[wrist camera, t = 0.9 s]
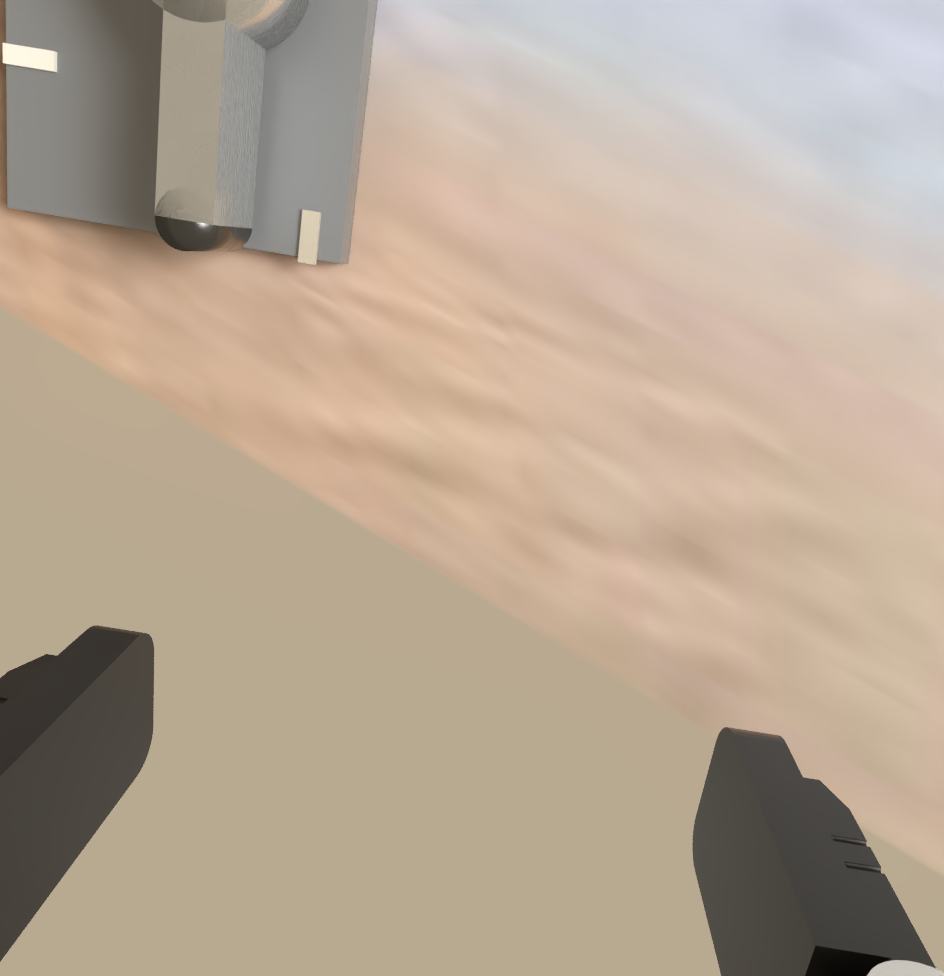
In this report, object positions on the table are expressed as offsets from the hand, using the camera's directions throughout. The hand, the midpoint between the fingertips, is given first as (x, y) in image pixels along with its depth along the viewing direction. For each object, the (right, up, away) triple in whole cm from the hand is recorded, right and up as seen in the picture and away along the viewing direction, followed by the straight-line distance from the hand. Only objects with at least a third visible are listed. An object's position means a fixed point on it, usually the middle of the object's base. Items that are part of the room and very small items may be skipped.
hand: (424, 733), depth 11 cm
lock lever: (-8, +18, +18) cm, 27 cm away
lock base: (-10, +20, +20) cm, 30 cm away
